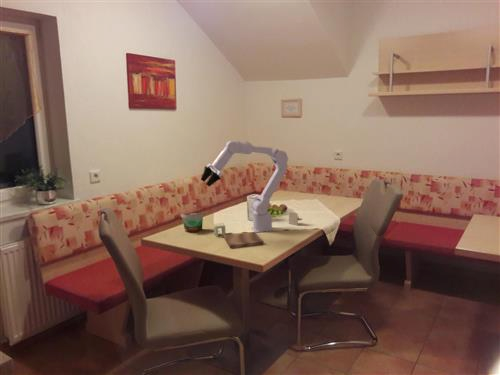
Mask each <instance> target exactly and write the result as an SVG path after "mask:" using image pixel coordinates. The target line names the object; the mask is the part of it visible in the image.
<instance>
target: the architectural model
mask: <svg viewBox="0 0 500 375" xmlns="http://www.w3.org/2000/svg"><path fill="white" fill-rule="evenodd" d="M302 220H303V218H301V217H300V216H298V213H297V212H296V211H295V212H293V211H289V212H288V224H289V225H291V226H298V225H299V224H298V223H299V222H300V221H302Z"/></svg>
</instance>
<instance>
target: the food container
mask: <svg viewBox="0 0 500 375" xmlns="http://www.w3.org/2000/svg"><path fill="white" fill-rule="evenodd" d="M204 216H205V214H204V212H203V211H202V212H191V213H187V214H185V213H181V216H180V218H182V223H183V228H184V232H186V233H188V234H189V233H190V234H191V233H195V234H196V233H199V232H202V231H203V221H204V220H203V218H204Z"/></svg>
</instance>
